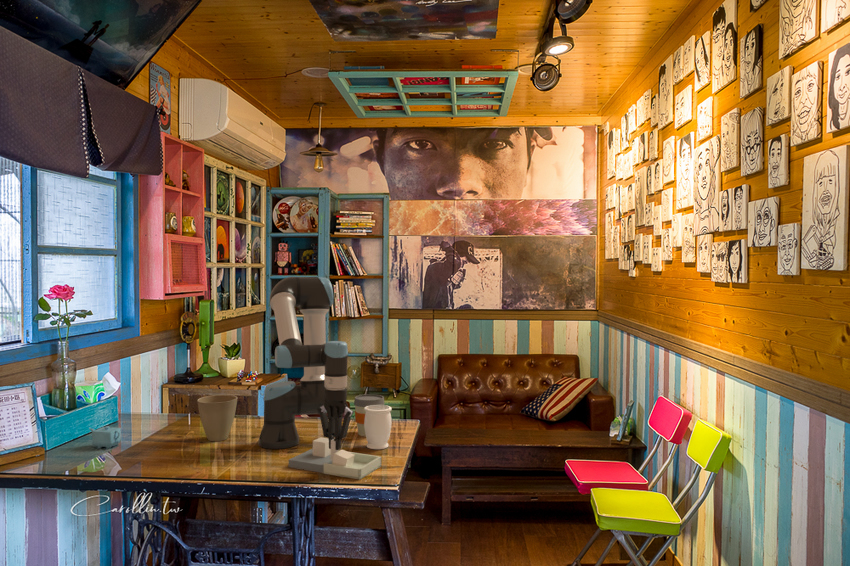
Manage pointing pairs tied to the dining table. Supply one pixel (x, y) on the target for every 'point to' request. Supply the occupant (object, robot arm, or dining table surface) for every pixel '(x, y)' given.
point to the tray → (355, 466)
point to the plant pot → (217, 415)
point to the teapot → (106, 437)
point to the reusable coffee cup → (360, 412)
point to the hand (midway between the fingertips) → (334, 458)
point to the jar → (377, 426)
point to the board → (310, 461)
